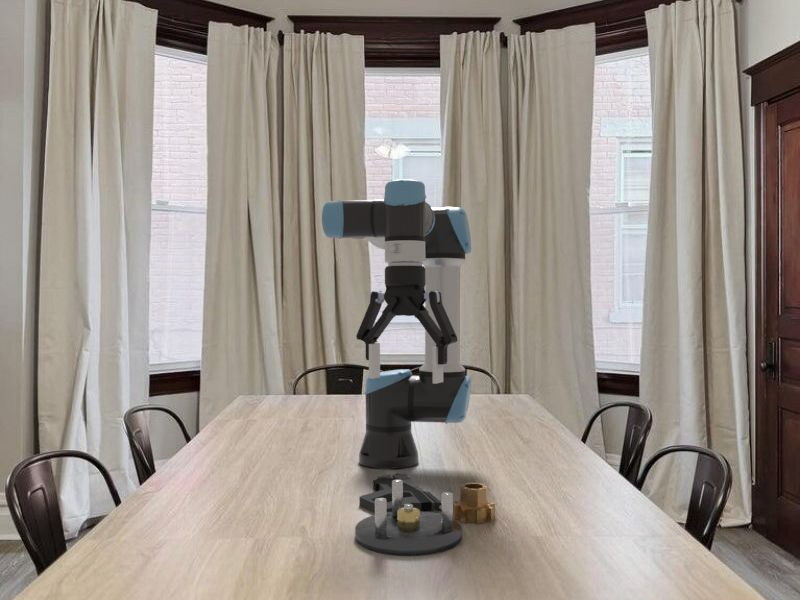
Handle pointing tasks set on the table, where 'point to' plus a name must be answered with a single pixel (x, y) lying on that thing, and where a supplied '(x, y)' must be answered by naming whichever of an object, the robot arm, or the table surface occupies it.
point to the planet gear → (474, 504)
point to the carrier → (408, 527)
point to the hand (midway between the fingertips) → (405, 380)
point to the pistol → (410, 494)
